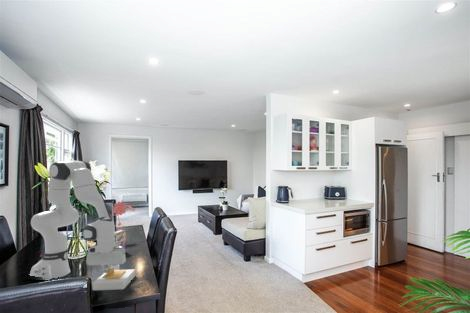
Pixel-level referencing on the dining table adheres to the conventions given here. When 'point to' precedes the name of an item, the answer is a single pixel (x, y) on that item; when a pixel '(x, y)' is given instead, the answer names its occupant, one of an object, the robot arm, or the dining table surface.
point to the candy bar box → (120, 238)
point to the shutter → (114, 274)
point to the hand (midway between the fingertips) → (106, 272)
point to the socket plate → (114, 281)
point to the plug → (115, 267)
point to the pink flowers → (120, 210)
